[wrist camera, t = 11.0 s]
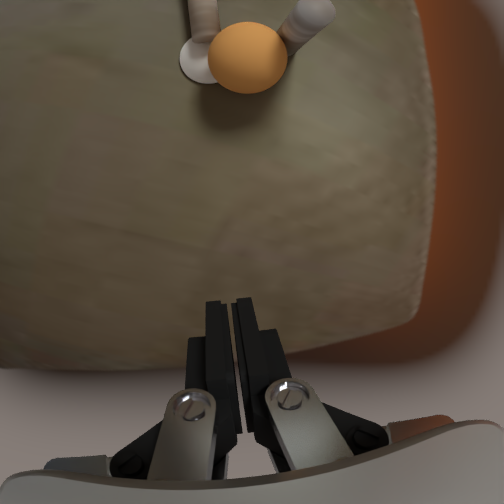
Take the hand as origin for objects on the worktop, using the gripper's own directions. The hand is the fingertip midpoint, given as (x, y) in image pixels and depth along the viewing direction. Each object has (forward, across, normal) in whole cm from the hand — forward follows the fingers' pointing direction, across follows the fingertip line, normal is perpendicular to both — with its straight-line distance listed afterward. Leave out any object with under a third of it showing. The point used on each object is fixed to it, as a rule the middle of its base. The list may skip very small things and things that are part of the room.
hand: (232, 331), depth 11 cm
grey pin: (+17, -6, -15) cm, 24 cm away
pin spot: (+17, 0, -14) cm, 22 cm away
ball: (+14, -3, -13) cm, 19 cm away
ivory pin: (+16, 0, -15) cm, 22 cm away
